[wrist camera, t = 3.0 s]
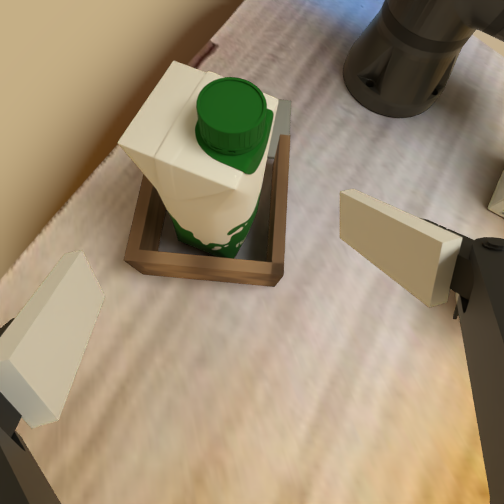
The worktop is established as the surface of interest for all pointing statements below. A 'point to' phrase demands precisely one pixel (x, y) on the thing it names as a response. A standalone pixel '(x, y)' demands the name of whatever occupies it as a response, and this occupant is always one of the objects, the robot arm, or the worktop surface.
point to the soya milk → (204, 153)
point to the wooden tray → (206, 267)
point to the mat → (280, 125)
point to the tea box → (498, 198)
